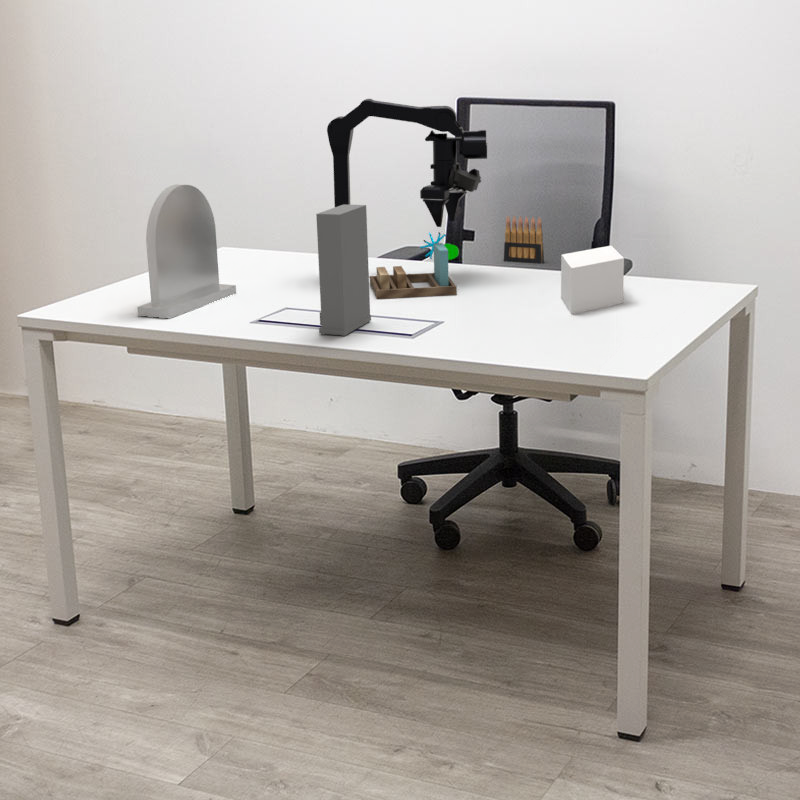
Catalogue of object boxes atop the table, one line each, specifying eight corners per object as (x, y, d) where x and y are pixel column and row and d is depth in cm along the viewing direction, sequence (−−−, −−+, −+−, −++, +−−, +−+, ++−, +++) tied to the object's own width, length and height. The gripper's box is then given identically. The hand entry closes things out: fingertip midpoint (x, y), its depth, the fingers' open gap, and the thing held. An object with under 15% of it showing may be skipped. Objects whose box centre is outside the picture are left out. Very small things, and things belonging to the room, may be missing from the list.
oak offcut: (398, 295, 293) (397, 274, 292) (393, 286, 303) (393, 266, 301) (406, 294, 293) (406, 273, 292) (401, 286, 303) (401, 266, 301)
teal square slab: (440, 292, 294) (439, 250, 291) (434, 284, 304) (433, 243, 301) (448, 292, 294) (448, 250, 291) (442, 283, 304) (441, 243, 301)
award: (205, 291, 303) (196, 177, 295) (236, 294, 299) (228, 178, 291) (136, 316, 279) (124, 192, 271) (169, 319, 275) (158, 193, 267)
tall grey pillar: (345, 320, 270) (340, 204, 262) (371, 321, 268) (367, 204, 260) (318, 334, 257) (312, 213, 250) (345, 336, 255) (340, 214, 248)
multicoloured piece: (413, 250, 337) (428, 225, 338) (423, 260, 343) (438, 236, 344) (448, 266, 331) (463, 241, 332) (457, 276, 338) (472, 252, 338)
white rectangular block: (539, 312, 272) (539, 266, 269) (580, 286, 297) (581, 243, 294) (603, 317, 266) (604, 270, 263) (640, 290, 291) (641, 247, 288)
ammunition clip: (503, 261, 330) (503, 216, 326) (506, 260, 331) (506, 214, 328) (541, 263, 325) (541, 217, 322) (544, 262, 327) (544, 216, 323)
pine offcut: (381, 296, 293) (380, 275, 291) (377, 287, 302) (376, 267, 301) (389, 295, 293) (389, 274, 291) (385, 287, 302) (384, 266, 301)
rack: (377, 299, 289) (376, 290, 288) (370, 284, 306) (369, 276, 305) (456, 294, 291) (456, 286, 290) (445, 280, 308) (445, 272, 307)
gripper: (463, 164, 290) (463, 231, 294) (489, 156, 306) (489, 219, 311) (418, 163, 294) (420, 229, 299) (446, 155, 310) (447, 217, 315)
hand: (445, 224), depth 306 cm, fingers open, 9 cm apart
